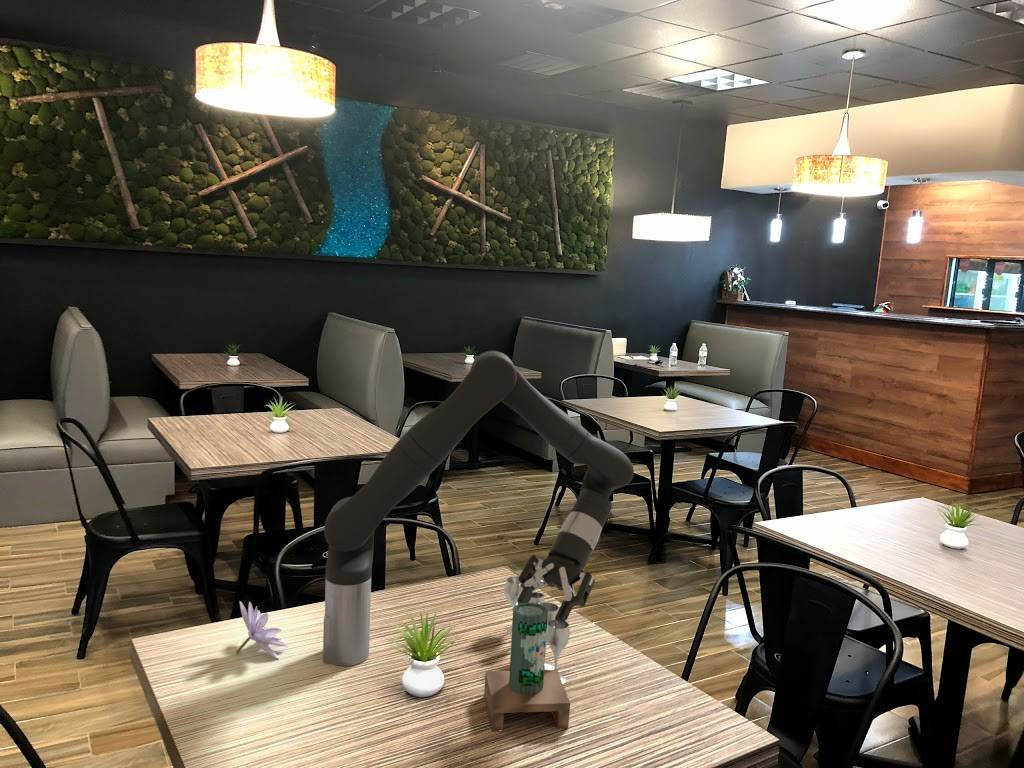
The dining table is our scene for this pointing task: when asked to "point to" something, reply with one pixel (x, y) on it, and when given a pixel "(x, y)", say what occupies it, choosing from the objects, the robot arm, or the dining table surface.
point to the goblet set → (555, 631)
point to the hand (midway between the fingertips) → (539, 614)
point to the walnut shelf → (525, 698)
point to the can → (528, 648)
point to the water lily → (259, 630)
